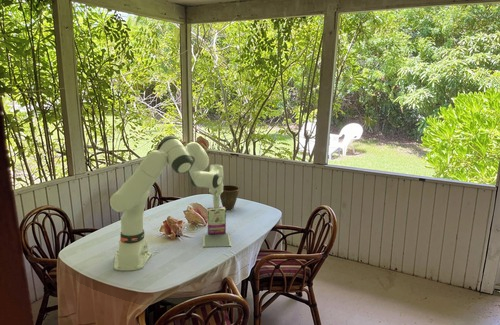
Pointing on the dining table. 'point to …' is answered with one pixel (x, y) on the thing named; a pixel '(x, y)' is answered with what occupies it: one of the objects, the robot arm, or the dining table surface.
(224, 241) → the mat
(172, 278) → the dining table surface
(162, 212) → the dining table surface
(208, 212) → the candy bar box
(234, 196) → the plant pot
